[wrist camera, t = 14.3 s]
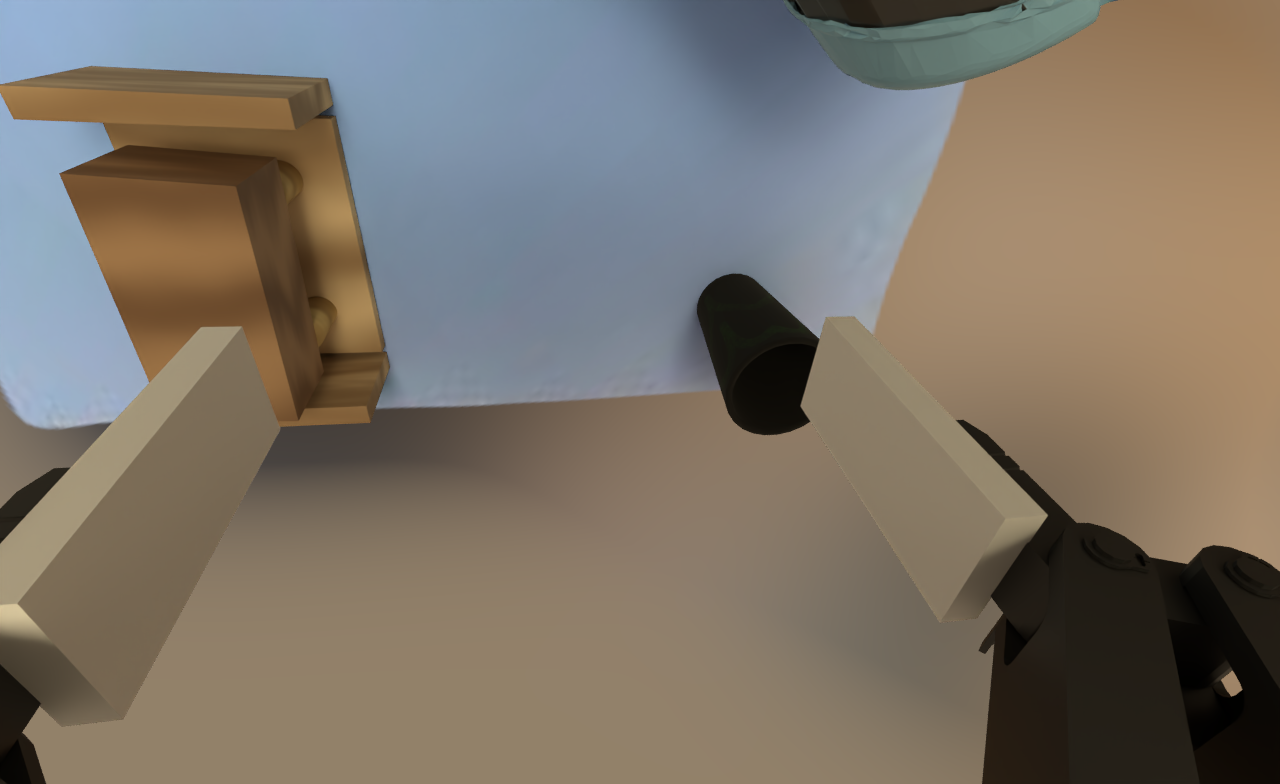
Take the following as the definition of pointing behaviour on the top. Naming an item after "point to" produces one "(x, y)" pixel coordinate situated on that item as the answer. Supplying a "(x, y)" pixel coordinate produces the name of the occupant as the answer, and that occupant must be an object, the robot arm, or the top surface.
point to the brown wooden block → (201, 258)
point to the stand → (311, 177)
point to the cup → (757, 354)
